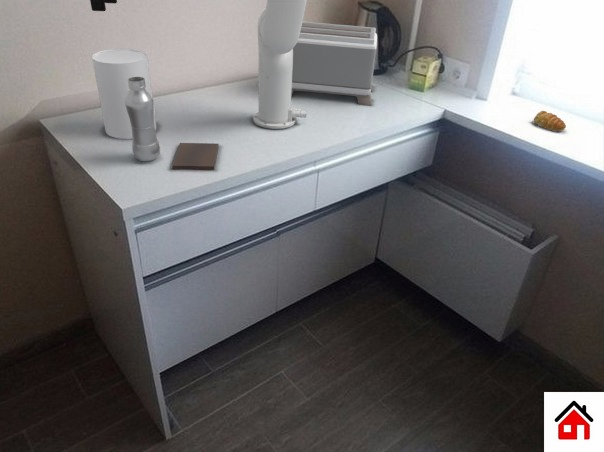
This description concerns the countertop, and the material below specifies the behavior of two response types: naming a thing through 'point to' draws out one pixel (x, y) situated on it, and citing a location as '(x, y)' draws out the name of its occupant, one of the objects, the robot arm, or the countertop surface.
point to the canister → (119, 86)
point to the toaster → (335, 60)
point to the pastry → (549, 121)
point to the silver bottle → (142, 120)
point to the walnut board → (196, 156)
